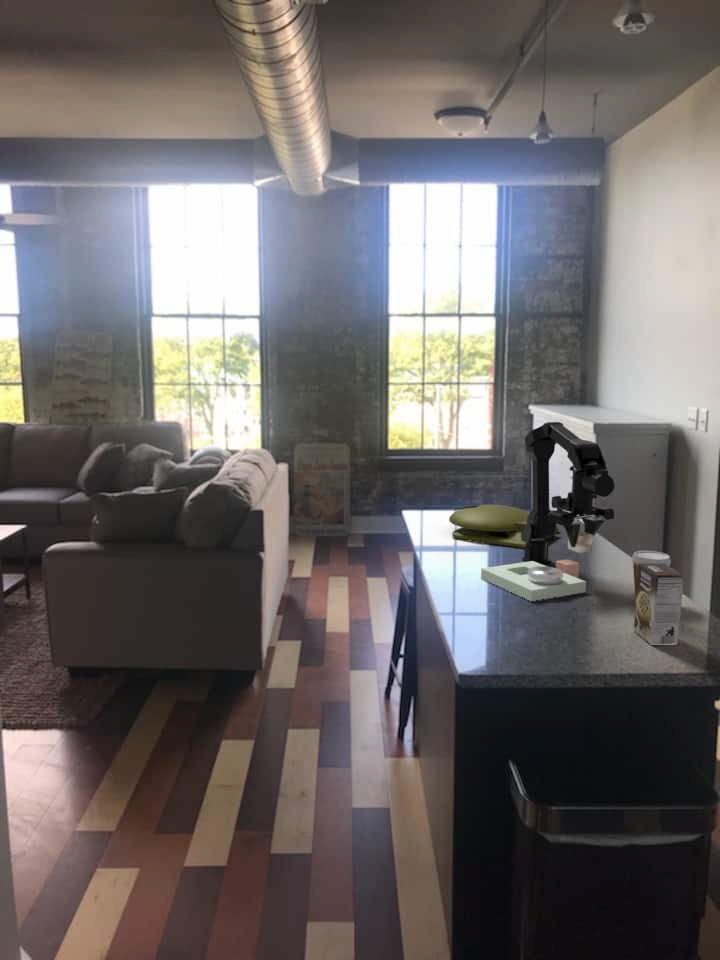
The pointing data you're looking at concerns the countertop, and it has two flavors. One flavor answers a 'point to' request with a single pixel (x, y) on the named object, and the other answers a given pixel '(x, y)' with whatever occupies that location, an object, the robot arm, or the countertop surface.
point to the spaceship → (492, 524)
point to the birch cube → (582, 543)
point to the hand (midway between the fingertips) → (579, 546)
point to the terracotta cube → (568, 567)
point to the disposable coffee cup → (648, 561)
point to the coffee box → (658, 603)
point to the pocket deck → (517, 582)
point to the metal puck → (545, 575)
